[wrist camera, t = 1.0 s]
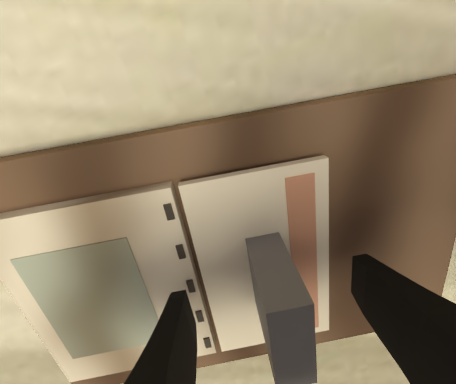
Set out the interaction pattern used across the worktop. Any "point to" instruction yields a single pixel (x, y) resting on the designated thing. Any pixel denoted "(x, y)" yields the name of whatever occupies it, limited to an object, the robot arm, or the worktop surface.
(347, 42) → the worktop surface
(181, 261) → the ticket board
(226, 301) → the stub
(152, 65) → the worktop surface
